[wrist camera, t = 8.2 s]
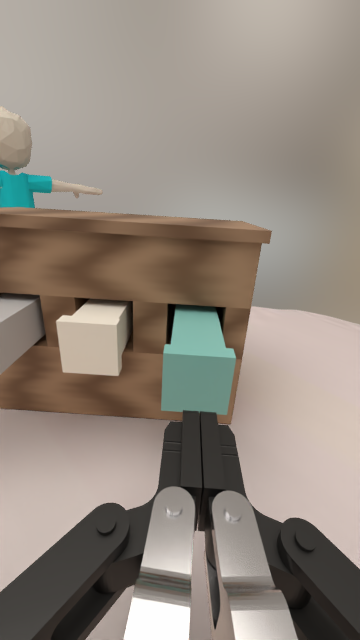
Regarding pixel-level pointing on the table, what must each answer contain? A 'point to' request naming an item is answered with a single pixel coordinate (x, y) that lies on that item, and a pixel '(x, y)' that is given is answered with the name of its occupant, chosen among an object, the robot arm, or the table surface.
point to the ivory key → (95, 337)
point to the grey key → (19, 326)
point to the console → (122, 298)
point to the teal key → (197, 363)
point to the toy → (14, 153)
